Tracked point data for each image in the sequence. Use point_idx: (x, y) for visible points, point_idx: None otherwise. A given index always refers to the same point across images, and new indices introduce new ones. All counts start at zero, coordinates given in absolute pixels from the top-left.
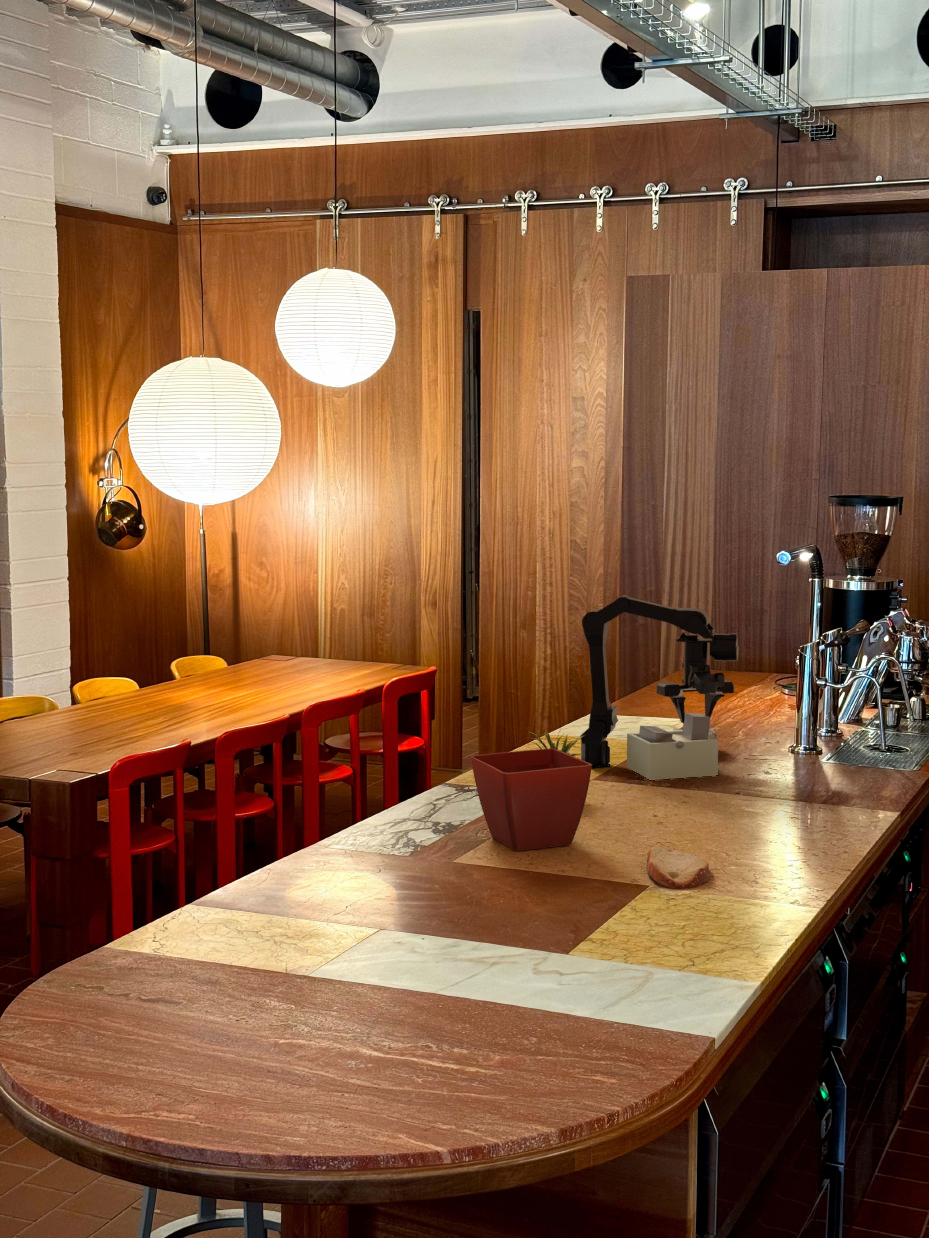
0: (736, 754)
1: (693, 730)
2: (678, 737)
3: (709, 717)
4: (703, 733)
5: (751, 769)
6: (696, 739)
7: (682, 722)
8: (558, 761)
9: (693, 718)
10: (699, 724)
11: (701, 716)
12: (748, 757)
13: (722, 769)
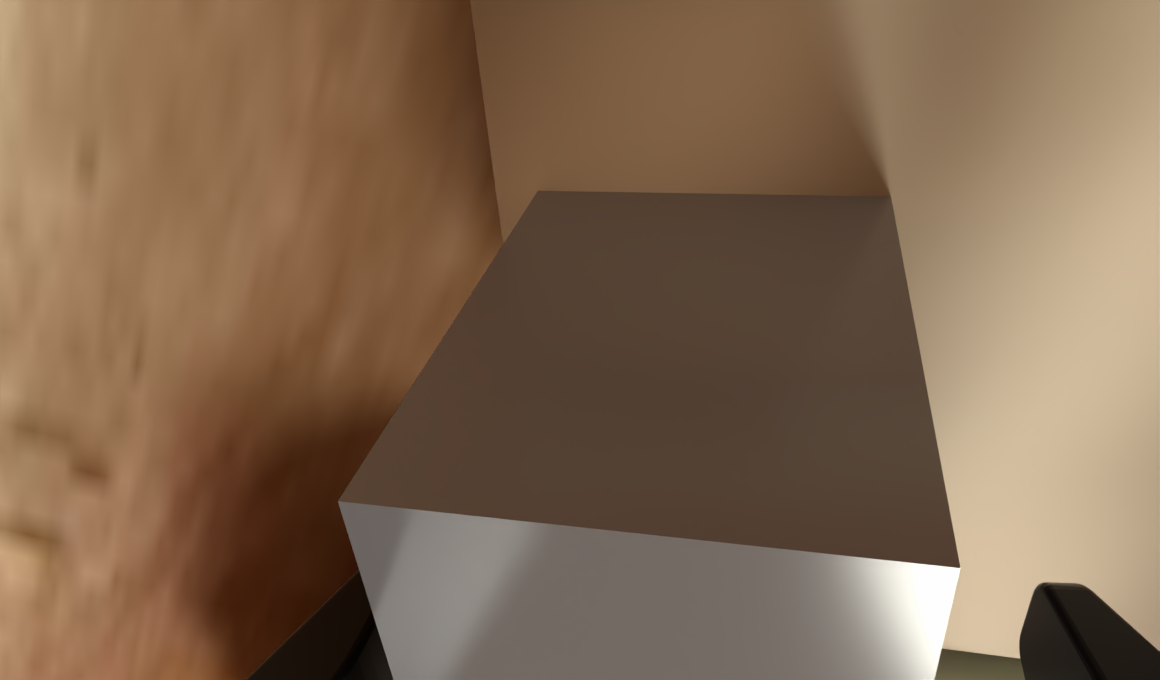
0: (150, 585)
1: (874, 300)
2: (1004, 425)
3: (371, 501)
4: (613, 261)
5: (75, 64)
6: (774, 202)
7: (1089, 596)
8: None
9: (950, 516)
10: (719, 377)
11: (616, 585)
12: (68, 491)
13: (382, 144)
